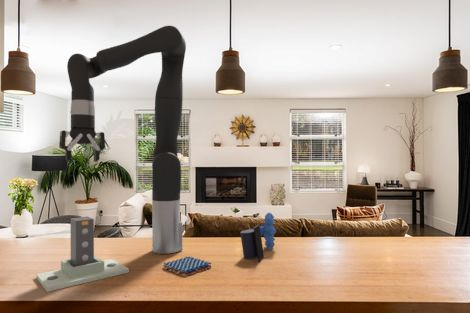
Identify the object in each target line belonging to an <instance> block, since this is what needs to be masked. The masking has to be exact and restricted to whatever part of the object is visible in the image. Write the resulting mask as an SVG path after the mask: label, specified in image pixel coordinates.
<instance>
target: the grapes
mask: <svg viewBox="0 0 470 313" xmlns="http://www.w3.org/2000/svg"><path fill="white" fill-rule="evenodd" d="M274 218H275V216H274V215H273V214H272V213H271V212H267V213H266V214H265V216H264V223H263V225H261V226H260V225H259V226H260V232H261V236H263V238H264V240H265V241H264V245H265V247H266V248H267V249H268V250H272V249H273V248H274V247H275V245H276V244H275V242H274V241H275V234H276V232H277V229H276V228H275V227H274V223H275V219H274Z"/></svg>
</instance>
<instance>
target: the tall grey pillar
mask: <svg viewBox="0 0 470 313" xmlns="http://www.w3.org/2000/svg"><path fill="white" fill-rule="evenodd" d="M94 220H95V218H92V217H90V216H81V217H71V218H70V259H71V266H73V267H76V266H81V265H86V264H91V263H94V255H95V239H94V238H95V236H94V235H95V234H94V233H95V228H94V227H95V226H94V223H95V221H94Z"/></svg>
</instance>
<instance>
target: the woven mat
mask: <svg viewBox="0 0 470 313" xmlns="http://www.w3.org/2000/svg"><path fill="white" fill-rule="evenodd" d="M164 268H165V269H164ZM207 268H208V269H210V268H212V262H209V261H207V260H206V261H205V260H203V259H199V258H196V257H194V256H193V257H192V256H185V257H184V258H183V257H181V258H180V259H176V260H175V259H173V260H172V261H168V262H164V263H163V265H162V270H166V271H167V272H171V271H172V273H175V274H176V275H179V276H180V275H181V276H182V277H188V276H190V275H194V274H196V273H199V272H202V271H205V270H207ZM167 269H168V270H167ZM204 269H205V270H204Z"/></svg>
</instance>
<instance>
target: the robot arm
mask: <svg viewBox="0 0 470 313" xmlns="http://www.w3.org/2000/svg"><path fill="white" fill-rule="evenodd" d="M186 44H187V43H186V40H185V38H184V36H183V33H182V32H181V31H180V29H179V28H177V27H176V26H174V25H163V26H162V27H160V28H157V29H155V30H153V31H151V32H149V33H147V34H144V35H142V36H140V37H138V38H136V39H133V40H130V41H127V42H124V43H122V44H117V45H114V46H110V47H108V48H104V49H101V50H99V51H97V52H96V55H95V56H93V57H90V58H89V57H87V56H86V55H84V54H82V53H74V54H72V55H71V56H70V57H69V58H68V61H67V65H66V66H67V67H66V68H67V69H66V70H67V74H68V78H69V79H68V80H69V84H70V86H71V87H70V88H71V93H70V94H71V97H70V98H71V103H70V110H69V111H70V113H69V114H70V131H67V130H61V131H59V143H58V144H59V146H58V147H59V149H61V150H64V151H65V161H67V163H72V160H73V159H72V156H73V154H72V149H73V148H74V147H75V146H76V144H77V145H89V146H90V147H91V148H92V149H93V150H94V151H93V162H97V163H98V161H100V153H101V150H105V149H106V139H105V132H102V131H101V132H96V130H95V129H96V126H95V125H96V124H95V123H96V121H95V120H96V118H95V116H96V114H95V113H96V109H95V91H94V87H93V85H92V84H91V83H90V79H93V78H96V77H99V76H102V75H103V74H105V73H106V72H107V71H108V72H109V71H113V70H117V69H120V68H123V67H127V66H128V65H131V64H132V63H134V62H136V61H137V60H140V59H141V58H142V57H145V56H147V55H151V54H157V53H160V54H161V73H160V77H159V80H158V83H157V87H156V90H155V96H154V97H155V98H154V126H155V146H154V151H153V152H154V154H153V158H152V163H151V168H152V170H151V171H152V176H151V177H152V188H151V192H152V194H151V196H152V201H151V203H152V208H151V210H152V213H151V214H152V217H151V219H152V220H151V222H152V226H151V227H152V232H151V233H152V235H151V236H152V237H151V238H152V239H151V240H152V244H151V247H152V252H153V253H155V254H160V255H161V254H162V255H167V254H173V253H177V252H180V251H183V221H181V189H182V165H181V161H180V158H179V157H178V156H179V155H178V136H179V131H180V127H181V123H182V122H181V121H182V115H183V98H184V97H183V94H184V93H183V91H184V90H183V89H184V88H183V72H184V71H183V70H184V62H185V56H186V49H187V48H186V47H187V45H186ZM69 136H70V138H71V140H70V141H69V143H68V144H67V145H66V139H67V138H68V137H69ZM95 138H97V139H98V144H97V142H96V141H95Z"/></svg>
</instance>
